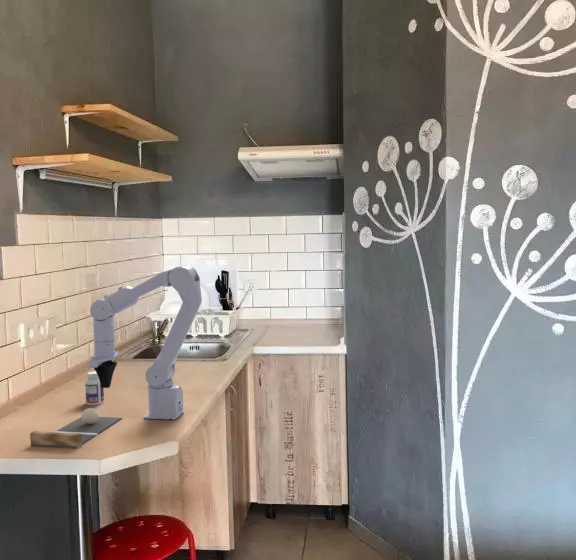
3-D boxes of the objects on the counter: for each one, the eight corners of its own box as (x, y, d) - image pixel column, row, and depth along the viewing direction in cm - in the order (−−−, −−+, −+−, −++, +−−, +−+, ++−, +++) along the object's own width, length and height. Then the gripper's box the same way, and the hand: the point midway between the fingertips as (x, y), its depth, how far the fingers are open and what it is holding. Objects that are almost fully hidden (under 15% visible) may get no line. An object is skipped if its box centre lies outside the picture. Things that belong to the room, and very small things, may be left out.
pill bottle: (97, 400, 204) (96, 370, 204) (107, 402, 201) (106, 372, 200) (82, 403, 200) (81, 373, 199) (92, 406, 197) (91, 375, 196)
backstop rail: (81, 446, 160) (81, 433, 159) (78, 448, 158) (78, 435, 158) (34, 443, 162) (33, 431, 162) (30, 445, 161) (30, 433, 160)
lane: (121, 419, 183) (121, 417, 183) (76, 448, 158) (76, 446, 158) (82, 417, 185) (82, 416, 185) (32, 445, 161) (32, 444, 161)
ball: (101, 422, 179) (100, 406, 178) (93, 426, 174) (93, 410, 174) (86, 421, 180) (86, 405, 179) (78, 426, 175) (78, 410, 175)
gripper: (103, 336, 193) (104, 381, 194) (78, 344, 179) (80, 392, 180) (125, 336, 192) (126, 381, 193) (102, 345, 178) (103, 393, 179)
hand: (105, 387), depth 186 cm, fingers closed
